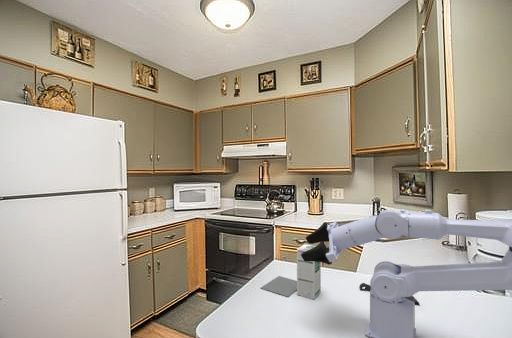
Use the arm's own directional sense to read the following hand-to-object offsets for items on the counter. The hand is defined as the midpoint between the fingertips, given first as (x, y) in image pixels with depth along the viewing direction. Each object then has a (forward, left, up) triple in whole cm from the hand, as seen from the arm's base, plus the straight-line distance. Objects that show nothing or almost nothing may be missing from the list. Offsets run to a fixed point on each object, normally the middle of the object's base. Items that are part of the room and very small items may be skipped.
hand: (305, 248), depth 71 cm
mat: (+12, -10, -17) cm, 23 cm away
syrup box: (+3, -10, -17) cm, 20 cm away
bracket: (-16, -26, -18) cm, 35 cm away
